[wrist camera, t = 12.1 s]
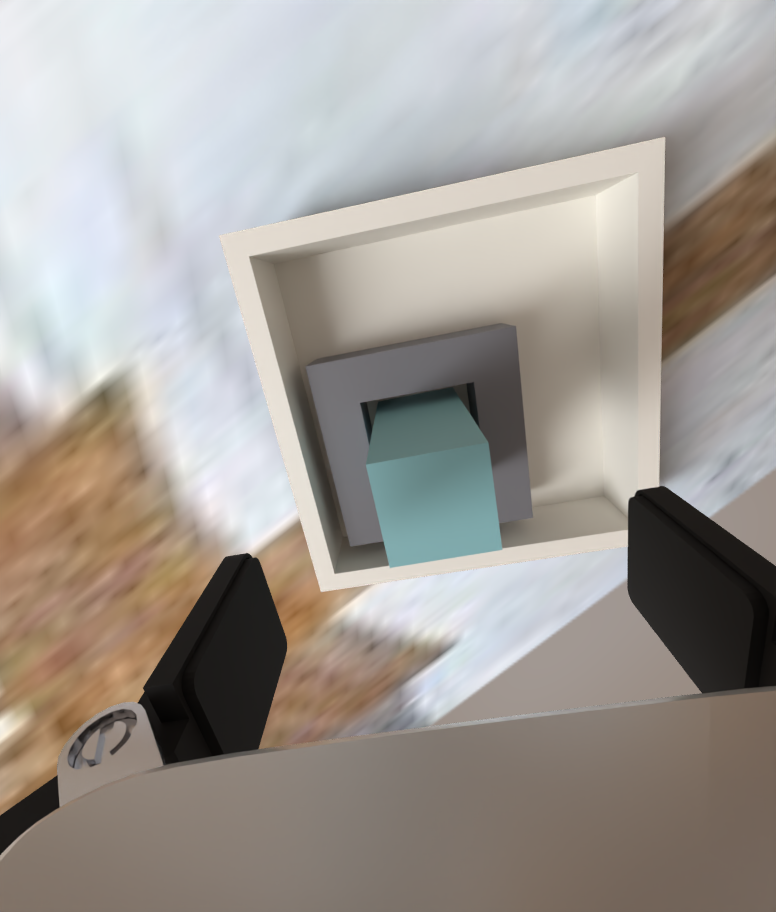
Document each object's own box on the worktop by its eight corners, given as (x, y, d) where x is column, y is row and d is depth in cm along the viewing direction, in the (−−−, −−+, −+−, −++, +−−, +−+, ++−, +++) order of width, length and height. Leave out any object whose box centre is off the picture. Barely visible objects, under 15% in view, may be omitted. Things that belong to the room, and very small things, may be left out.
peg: (377, 401, 24) (365, 464, 15) (452, 387, 24) (488, 442, 15) (392, 470, 26) (389, 567, 16) (463, 457, 25) (502, 549, 16)
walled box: (252, 247, 22) (218, 235, 18) (610, 170, 21) (665, 136, 17) (332, 548, 28) (321, 591, 24) (616, 503, 27) (658, 541, 23)
